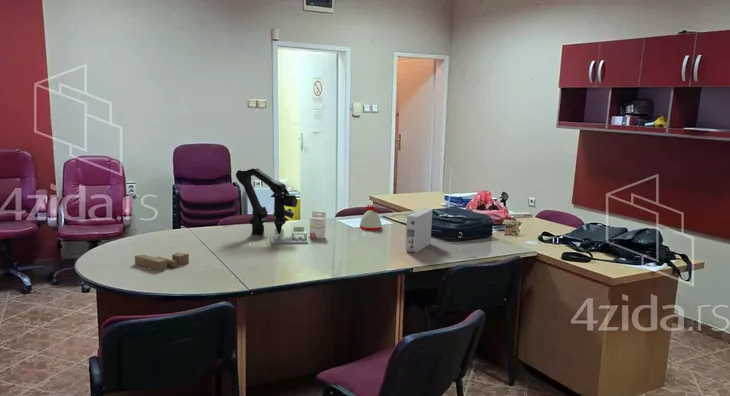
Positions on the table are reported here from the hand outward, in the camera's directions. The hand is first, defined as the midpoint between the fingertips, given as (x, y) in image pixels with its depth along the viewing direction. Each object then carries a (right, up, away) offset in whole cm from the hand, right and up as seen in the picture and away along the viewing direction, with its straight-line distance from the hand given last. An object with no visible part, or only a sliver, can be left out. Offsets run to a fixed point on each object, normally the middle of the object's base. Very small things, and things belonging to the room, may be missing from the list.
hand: (278, 232), depth 314 cm
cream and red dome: (+53, 0, +33) cm, 63 cm away
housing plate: (+7, -4, -9) cm, 12 cm away
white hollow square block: (0, -3, 0) cm, 3 cm away
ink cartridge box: (+22, -3, +2) cm, 22 cm away
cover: (+12, -3, -5) cm, 14 cm away
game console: (+79, -8, -13) cm, 81 cm away
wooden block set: (-44, -11, -62) cm, 77 cm away
